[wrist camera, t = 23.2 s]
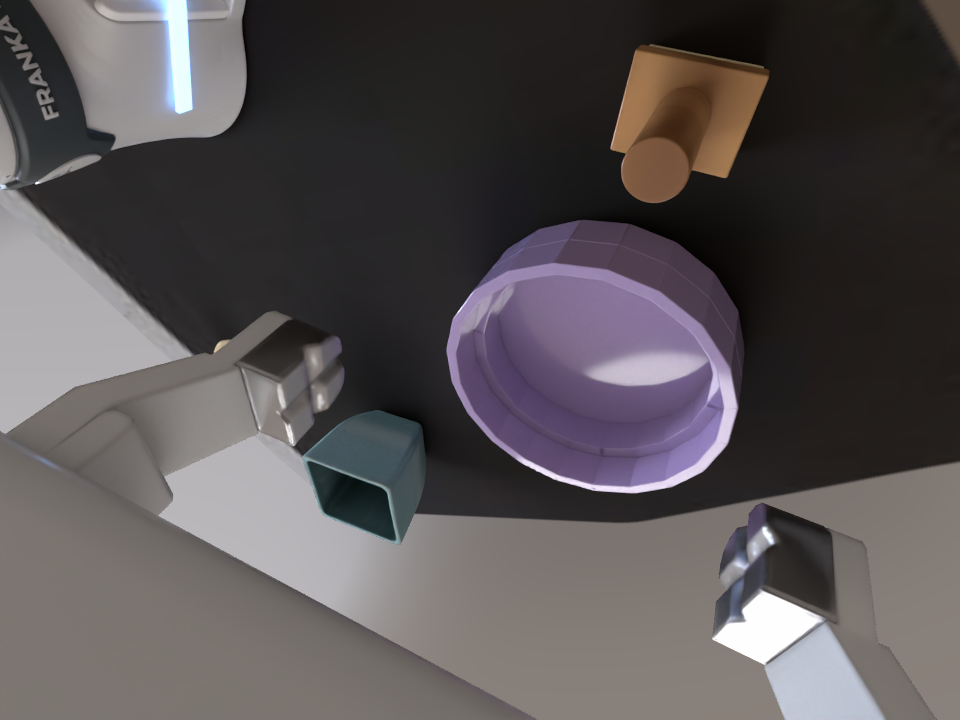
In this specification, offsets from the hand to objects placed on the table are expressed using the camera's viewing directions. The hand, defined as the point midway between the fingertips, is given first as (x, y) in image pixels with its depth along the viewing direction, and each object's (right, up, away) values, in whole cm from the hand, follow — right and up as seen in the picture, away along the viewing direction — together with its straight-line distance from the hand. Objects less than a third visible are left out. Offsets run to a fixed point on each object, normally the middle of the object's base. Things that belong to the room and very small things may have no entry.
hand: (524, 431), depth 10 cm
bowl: (+7, +3, +26) cm, 28 cm away
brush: (+9, +14, +16) cm, 23 cm away
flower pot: (-8, -6, +43) cm, 45 cm away
